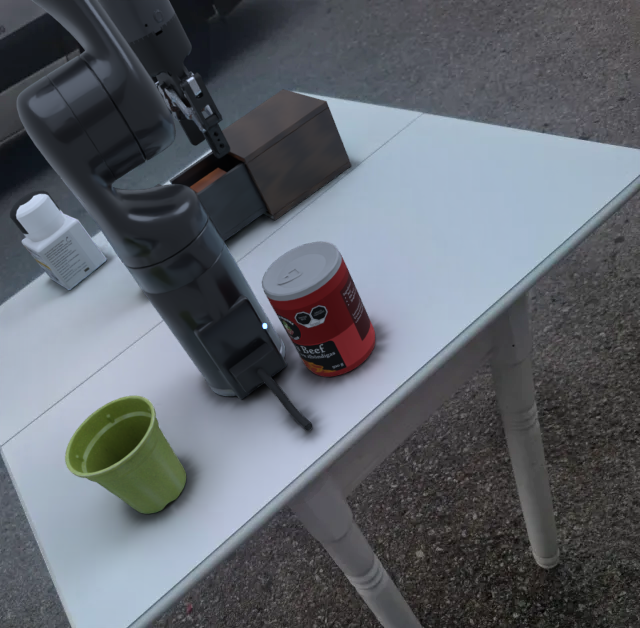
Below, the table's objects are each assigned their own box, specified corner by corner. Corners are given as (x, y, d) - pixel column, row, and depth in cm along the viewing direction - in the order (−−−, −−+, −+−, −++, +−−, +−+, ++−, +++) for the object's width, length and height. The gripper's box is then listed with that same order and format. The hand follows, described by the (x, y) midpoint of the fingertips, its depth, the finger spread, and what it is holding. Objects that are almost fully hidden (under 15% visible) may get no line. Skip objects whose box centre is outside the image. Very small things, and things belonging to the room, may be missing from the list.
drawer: (184, 274, 95) (153, 226, 90) (157, 250, 104) (127, 204, 98) (282, 205, 97) (258, 154, 92) (248, 186, 106) (223, 138, 101)
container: (51, 280, 113) (-5, 211, 105) (88, 250, 115) (37, 181, 107) (69, 291, 108) (12, 220, 99) (108, 260, 110) (55, 187, 101)
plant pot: (105, 533, 69) (48, 480, 63) (136, 457, 75) (87, 402, 69) (186, 526, 65) (133, 469, 59) (212, 446, 71) (167, 388, 65)
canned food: (292, 364, 75) (246, 283, 67) (345, 316, 77) (305, 233, 69) (337, 389, 69) (292, 305, 62) (393, 337, 71) (355, 249, 64)
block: (232, 175, 95) (202, 195, 95) (248, 206, 99) (220, 226, 98) (217, 167, 99) (188, 187, 98) (234, 198, 102) (206, 217, 102)
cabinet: (275, 220, 97) (243, 158, 91) (237, 198, 107) (206, 140, 100) (352, 165, 99) (326, 100, 93) (308, 148, 108) (283, 88, 102)
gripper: (103, 37, 88) (170, 153, 99) (137, 46, 78) (208, 175, 89) (152, 5, 89) (214, 124, 100) (192, 10, 79) (256, 142, 90)
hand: (211, 148), depth 94 cm, fingers open, 8 cm apart
